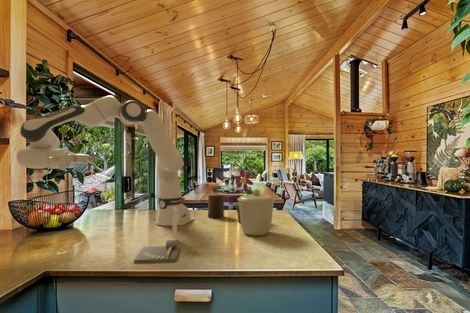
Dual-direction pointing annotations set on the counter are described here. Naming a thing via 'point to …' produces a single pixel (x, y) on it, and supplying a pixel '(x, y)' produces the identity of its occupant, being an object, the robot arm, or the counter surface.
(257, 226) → the canister
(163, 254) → the dial board
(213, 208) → the pillar candle
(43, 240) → the counter surface
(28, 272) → the counter surface
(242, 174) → the flowerpot
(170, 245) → the upright cream panel
